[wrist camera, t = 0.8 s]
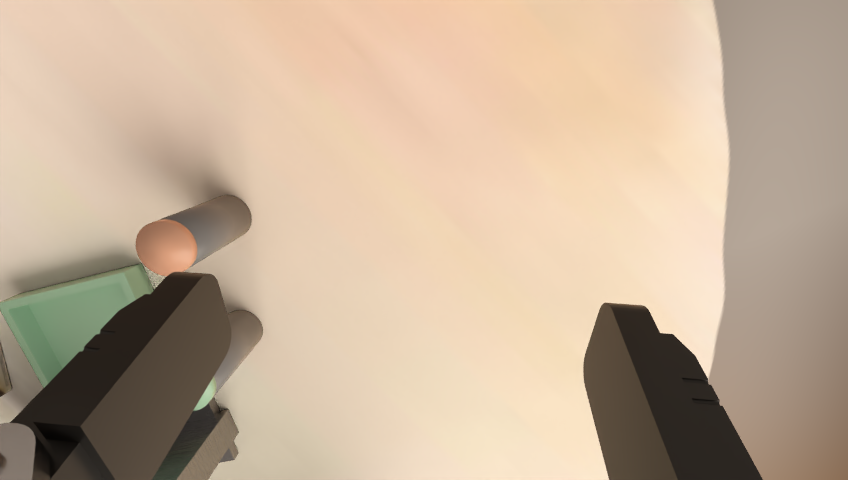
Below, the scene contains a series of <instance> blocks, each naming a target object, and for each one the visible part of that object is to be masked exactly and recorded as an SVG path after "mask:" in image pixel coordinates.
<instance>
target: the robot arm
mask: <svg viewBox="0 0 848 480" xmlns="http://www.w3.org/2000/svg"><path fill="white" fill-rule="evenodd" d="M230 343H231V325H230V322H229V319H228V315H227V312H226V308H225V305H224V301H223V298H222V295H221V291H220V288H219V284H218V282H217V279H216V278H215V277H214V276H213V275H211V274H203V273H189V272H172V273H171V274H169V275H168V276H167V277H166V278H165V279H164V280H163V281H162V282H161V283H160V284H159V285H158V287H157V288H156V289H155V290H154V291H153V292H152V293H151V294H144V295H143V296H141V297H140V298H138V299H136V300H135V301H133V302H132V303H130V304H128V305H127V306H125V307H124V308H122V309H120V310H119V311H118V312H117V313H116V314H115V315H114V316H113V317H112V318H111V319H110V320H109V321H108V322H107V323H106V324H105V325H104V327H103V328H102V329H101V330H100V334H96V335H95V336H94V337H93V338H92V339H91V340H90V341H89V342H88V343H87V344H86V345H85V346H84V350H83V351H79V352H78V353H77V354H76V355H75V356H74V358H73V359H72V360H71V361H70V362H69V363H68V364H67V365H66V366H65V367H64V368H63V369H62V370H61V371H60V372H59V373H58V374H57V375H56V376H55V377H54V378H53V379H52V380H51V381H50V382H49V383H48V384H47V385H46V386H45V387H44V389H43V390H42V391H41V392H40V393H39V394H38V395H37V396H36V397H35V398H34V399H33V400H32V401H31V402H30V403H29V404H28V405H27V406H26V407H25V408H24V409H23V410H22V411H21V412H20V413H19V414H18V415H17V416H16V417H15V418H14V419H13V420H12V421H11V422H10V423H4V424H0V480H152V479H153V477H154V475H155V474H156V472H157V470H158V469H159V467H160V465H161V464H162V462H163V460H164V459H165V457H166V455H167V454H168V452H169V450H170V449H171V447H172V445H173V444H174V442H175V440H176V439H177V437H178V435H179V434H180V432H181V430H182V429H183V427H184V425H185V424H186V422H187V420H188V419H189V417H190V415H191V414H192V412H193V410H194V409H195V407H196V405H197V404H198V402H199V400H200V399H201V397H202V395H203V394H204V392H205V390H206V389H207V387H208V385H209V384H210V382H211V380H212V379H213V377H214V375H215V374H216V372H217V370H218V369H219V367H220V365H221V363H222V362H223V360H224V358H225V357H226V355H227V353H228V350H229V347H230ZM583 372H584V383H585V388H586V392H587V395H588V399H589V403H590V407H591V411H592V415H593V419H594V422H595V426H596V430H597V434H598V438H599V442H600V446H601V450H602V453H603V457H604V461H605V465H606V469H607V473H608V477H609V480H762V477H761V476H760V474H759V472H758V470H757V468H756V466H755V465H754V463H753V461H752V459H751V457H750V455H749V454H748V452H747V450H746V448H745V446H744V445H743V443H742V441H741V439H740V437H739V435H738V433H737V432H736V430H735V428H734V426H733V424H732V422H731V421H730V419H729V417H728V415H727V413H726V411H725V410H724V408H723V406H720V405H719V399H718V397H717V395H716V393H715V391H714V389H713V388H712V386H711V385H709V384H708V378H707V377H706V375H705V373H704V371H703V369H702V367H701V366H700V364H699V362H698V360H697V358H696V357H695V355H694V354H693V353H692V352H691V351H690V350H689V349H688V348H687V347H685V346H684V345H683V344H682V343H681V342H680V341H679V340H678V339H677V338H676V337H675V336H674V335H673V334H663V333H660V332H659V330H658V328H657V326H656V324H655V322H654V320H653V318H652V316H651V314H650V312H649V310H648V309H647V308H646V307H645V306H642V305H629V304H615V303H604V304H603V305H602V306H601V308H600V310H599V313H598V316H597V319H596V322H595V326H594V329H593V332H592V335H591V338H590V341H589V344H588V347H587V351H586V354H585V358H584V371H583Z"/></svg>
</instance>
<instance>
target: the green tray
mask: <svg viewBox="0 0 848 480" xmlns="http://www.w3.org/2000/svg"><path fill="white" fill-rule="evenodd" d="M153 291H154V289H153V287H152V285H151V283H150V281H149V278H148V276H147V274H146V272H145V269H144V267H143V265H142V263H140V264H136V265H132V266H128V267H124V268H120V269H116V270H112V271H108V272H104V273H100V274H96V275H92V276H88V277H84V278H80V279H76V280H72V281H68V282H64V283H60V284H56V285H52V286H48V287H44V288H40V289H36V290H32V291H28V292H24V293H20V294H18V295H16V296H13V297H11V298H9V299H6V300H4V301H2V302H0V311H1V313H2V314H3V316H4V318H5V320H6V322H7V323H8V325H9V327H10V329H11V331H12V332H13V334H14V336H15V338H16V340H17V341H18V343H19V345H20V347H21V348H22V350H23V352H24V354H25V356H26V357H27V359H28V361H29V363H30V365H31V366H32V368H33V370H34V372H35V373H36V375H37V377H38V379H39V381H40V382H41V384H42V386H43V388H44V387H45V386H46V385H47V384H48V383H49V382H50V381H51V380H52V379H53V378H54V377H55V376H56V375H57V374H58V373H59V372H60V371H61V370H62V369H63V368H64V367H65V366H66V365H67V364H68V363H69V362H70V361H71V360H72V359H73V358H74V356H75V355H76V354H77V353H78V352H79V351H83V350H84V346H85V345H86V344H87V343H88V342H89V341H90V340H91V339H92V338H93V337H94V336H95V335H96V334H100V330H101V329H102V328H103V327H104V325H105V324H106V323H107V322H108V321H109V320H110V319H111V318H112V317H113V316H114V315H115V314H116V313H117V312H118V311H119V310H120V309H122V308H124V307H125V306H127V305H128V304H130V303H132V302H133V301H135V300H136V299H138V298H140V297H141V296H143V295H144V294H151V293H152V292H153Z"/></svg>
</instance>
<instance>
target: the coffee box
mask: <svg viewBox="0 0 848 480" xmlns="http://www.w3.org/2000/svg"><path fill="white" fill-rule="evenodd" d="M11 389H12V387H11V384H10V380H9V376H8V372H7V368H6V364H5V360H4V356H3V353H2V349H1V345H0V397H1V396H2V395H4V394H6V393H7V392H9V391H10V390H11Z"/></svg>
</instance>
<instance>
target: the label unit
mask: <svg viewBox="0 0 848 480" xmlns="http://www.w3.org/2000/svg"><path fill="white" fill-rule="evenodd" d="M238 433H239V432H238V430H237V428H236V425H235V423H234V421H233V418H232V416H231V414H230V412H229V409H227V410H222V411H220V410H219V408H218V406H217V403H216V401H215V399H214V397H213V398H212V399H211V400H210V401H209V403H208V404H207V405H206V406H205V407H203V408H202V409H199V410H196V411H193V412H192V414H191V415H190V417H189V419H188V420H187V422H186V424H185V425H184V427H183V429H182V430H181V432H180V434H179V435H178V437H177V439H176V440H175V442H174V444H173V445H172V447H171V449H170V450H169V452H168V454H167V455H166V457H165V459H164V460H163V462H162V464H161V465H160V467H159V469H158V470H157V472H156V474H155V475H154V477H153V479H152V480H208V479H209V477H210V476H211V474H212V473H213V471H214V469H215V468H216V466H217V465H218V463H220V462H225V461H231V460H235V458H236V456H237V455H238V451H237V448H236V446H235V444H234V442H233V440H234V439H235V437H236V436H237V434H238Z"/></svg>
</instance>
